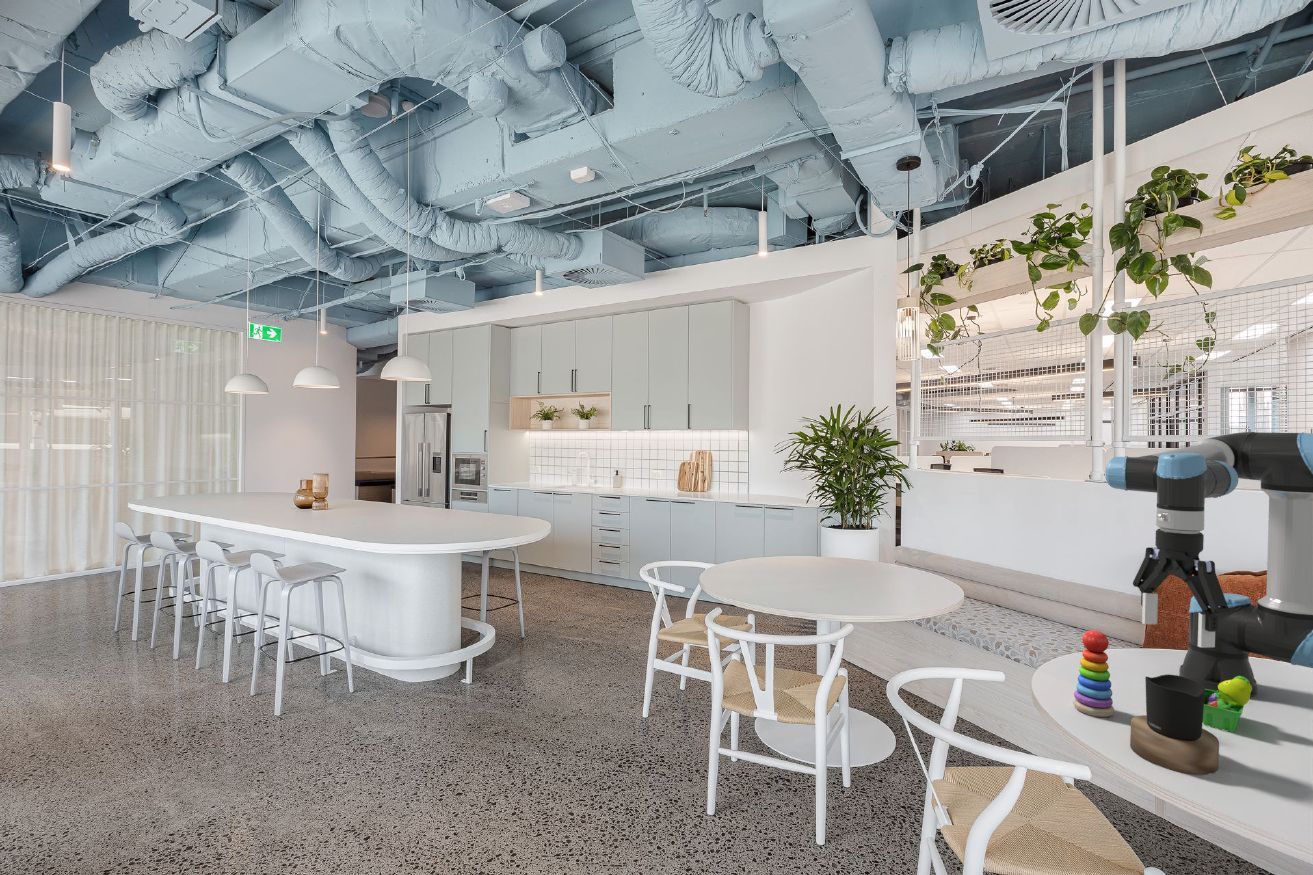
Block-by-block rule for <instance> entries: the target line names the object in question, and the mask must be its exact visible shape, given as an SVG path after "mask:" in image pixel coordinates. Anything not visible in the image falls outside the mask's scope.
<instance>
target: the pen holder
mask: <svg viewBox="0 0 1313 875" xmlns="http://www.w3.org/2000/svg"><path fill="white" fill-rule="evenodd" d="M1144 677H1145V710H1146V711H1145V712H1146V714H1145V715H1147V725H1148V726H1149V727H1150V729H1152V730H1153V731H1155V732H1156V733H1158V734H1161V735H1163V736H1166V737H1169V738H1173V739H1178V740H1184V741H1194V740H1197V739H1199V738H1200V737H1201V734H1202V728H1203V725H1204V724H1203V711H1204V697H1205V687H1204V686H1203V685H1202V684H1200V683H1198V682H1196V681H1194V680H1191V679H1188V678H1185V677H1181V676H1179V675H1177V674H1170V673H1169V674H1162V675H1161V674H1160V675H1159V676H1158V675H1157V676H1154V677H1149V676H1144Z"/></svg>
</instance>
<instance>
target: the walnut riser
mask: <svg viewBox="0 0 1313 875" xmlns="http://www.w3.org/2000/svg"><path fill="white" fill-rule="evenodd" d="M1129 737H1130V739H1129V741H1130V742H1129V746H1130V749H1131V751H1132V752H1133V753H1135V754H1136V755H1137V756H1138V755H1139V756H1138V757H1140V758H1142V759H1143V760H1145V761H1147V762H1149V763H1151V764H1153V765H1155V766H1158V767H1161V768H1164V769H1167V770H1171V771H1174V772H1179V773H1183V774H1188V775H1189V774H1190V775H1211V774H1215V773H1216V772H1218V770H1219V760H1220V759H1219V757H1220V741H1219V738H1218V737H1217V736H1215V735H1214V734H1213V733H1211V732H1210V731H1208V730H1207V729H1205V728H1203V727H1202V734H1201V737H1200V738H1199V739H1197V740H1194V741H1184V740H1178V739H1173V738H1169V737H1166V736H1163V735H1161V734H1158V733H1156V732H1155V731H1153V730H1152V729H1150V727H1149V726H1148V725H1147V714H1144V715H1137V716H1134V717H1132V719H1131V720H1130V734H1129Z"/></svg>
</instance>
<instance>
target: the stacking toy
mask: <svg viewBox="0 0 1313 875" xmlns="http://www.w3.org/2000/svg"><path fill="white" fill-rule="evenodd" d="M1082 644H1083V646H1084V647H1085V648H1086V649H1083V651H1082V653H1081V654H1082V658H1081V659H1080V660H1079V661H1080V662H1079V665H1081V666H1080V667H1079V668H1078V672H1079V674H1078V675H1077V681H1078V682H1077V683H1076V690H1075V691H1074V693H1073V695H1074V699H1073V701H1072V704H1073V707H1074V708H1075V709H1077V710H1078V711H1079V712H1080V713H1082V714H1084V715H1085V714H1086V715H1087V716H1088V715H1089V716H1092V717H1097V718H1108V717H1111V716H1113V715H1114V714H1115V709H1114V708H1115V707H1114V706H1113V703H1114V701H1113V699H1112V696H1113V690H1112V682H1111V680H1110V677H1111V674H1110V671H1109V667H1110V666H1109V664H1108V663H1107V661H1108V659H1109V656H1108V654H1107V653H1106V652H1105V651H1106V650H1108V647H1109V638H1108V637H1107V636H1106V635H1105V633H1103V632H1101V631H1099V630H1095V629H1094V630H1093V629H1091V630H1087V631H1086V632H1085V633H1084V634H1083V636H1082Z"/></svg>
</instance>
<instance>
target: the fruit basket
mask: <svg viewBox="0 0 1313 875" xmlns="http://www.w3.org/2000/svg"><path fill="white" fill-rule="evenodd" d="M1249 682H1250V681H1249V680H1248V679H1247V678H1245V677H1242V676H1237V677H1235V678H1234V679H1232V680H1227V681H1224V682H1221V683H1220V684H1219V685H1218V689H1219V691H1218V690H1217V691H1214V690H1209V689H1205V697H1204V711H1203V724H1202V725H1204V726H1206V727H1212V728H1215V729H1219V730H1223V731H1227V732H1230V733H1234V732H1235V730H1236V728H1237V725H1238V722H1239V721H1240V720H1239V719H1240V717H1242V714H1243V710H1244V708H1245V705H1247V704H1248V702H1250V698H1251V696H1250V693H1251V691H1252V686H1251V685H1250V683H1249Z"/></svg>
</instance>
